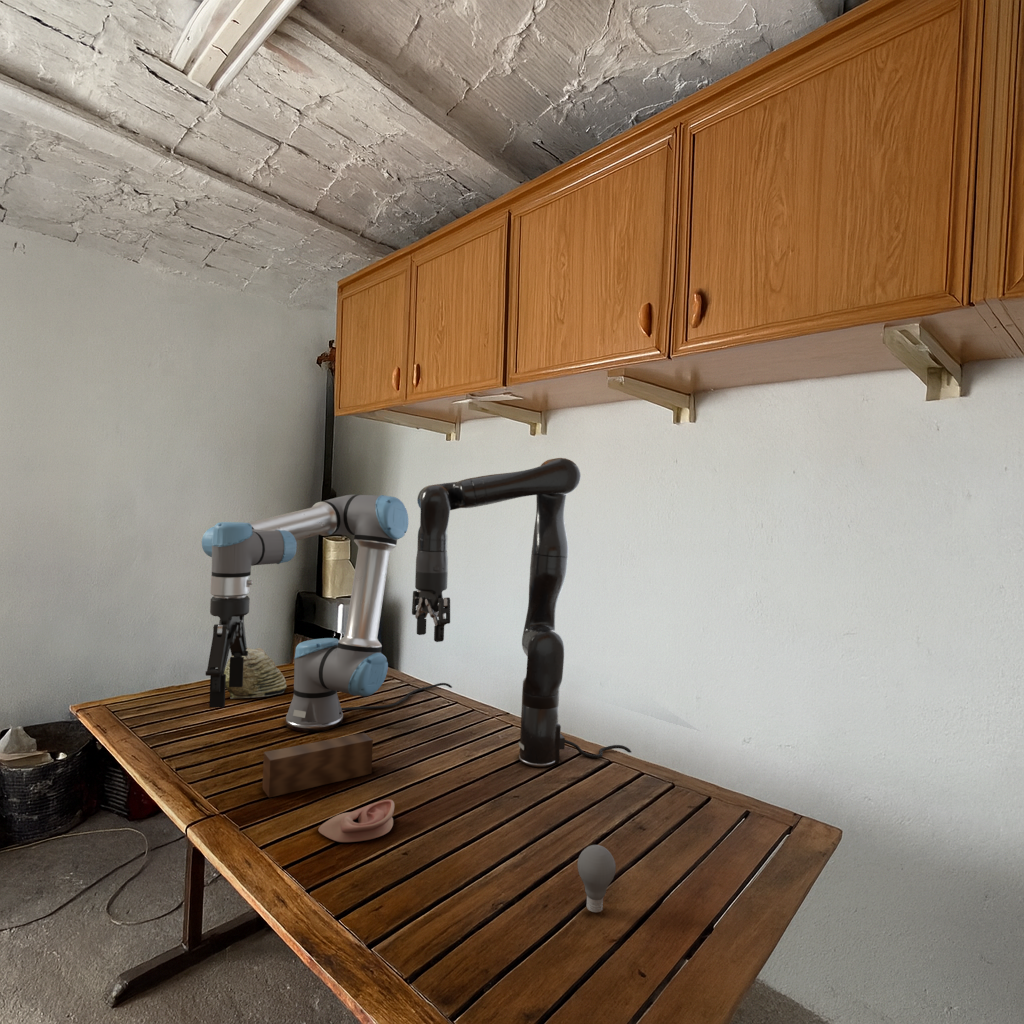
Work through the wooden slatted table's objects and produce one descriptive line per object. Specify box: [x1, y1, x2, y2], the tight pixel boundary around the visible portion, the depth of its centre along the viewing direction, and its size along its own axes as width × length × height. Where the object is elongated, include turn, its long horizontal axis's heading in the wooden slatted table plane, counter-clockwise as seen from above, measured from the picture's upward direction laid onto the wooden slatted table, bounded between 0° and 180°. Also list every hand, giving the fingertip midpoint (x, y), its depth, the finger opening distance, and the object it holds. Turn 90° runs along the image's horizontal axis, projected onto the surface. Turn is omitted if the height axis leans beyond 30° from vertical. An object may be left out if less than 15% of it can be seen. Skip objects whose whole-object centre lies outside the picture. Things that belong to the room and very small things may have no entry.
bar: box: [262, 732, 374, 798], centre depth 141 cm, size 23×5×8 cm, turn 126°
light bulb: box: [577, 844, 617, 913], centre depth 100 cm, size 6×6×10 cm
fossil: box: [224, 647, 288, 699], centre depth 198 cm, size 9×18×15 cm, turn 132°
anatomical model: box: [317, 799, 395, 843], centre depth 122 cm, size 13×4×12 cm
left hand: (226, 696), depth 133 cm, fingers open, 13 cm apart
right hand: (429, 637), depth 150 cm, fingers open, 8 cm apart
